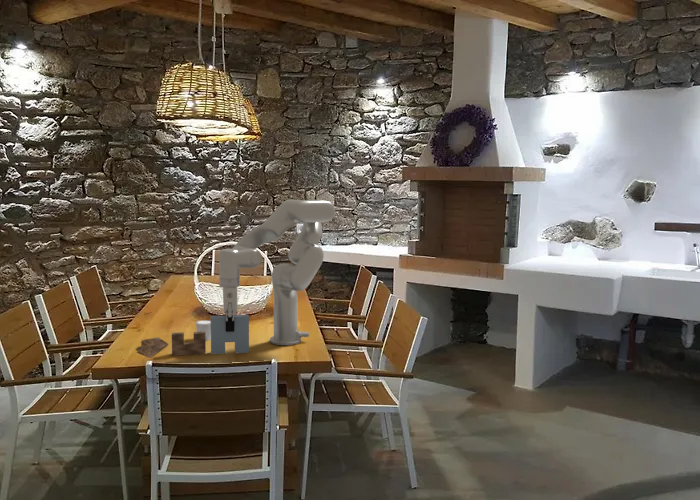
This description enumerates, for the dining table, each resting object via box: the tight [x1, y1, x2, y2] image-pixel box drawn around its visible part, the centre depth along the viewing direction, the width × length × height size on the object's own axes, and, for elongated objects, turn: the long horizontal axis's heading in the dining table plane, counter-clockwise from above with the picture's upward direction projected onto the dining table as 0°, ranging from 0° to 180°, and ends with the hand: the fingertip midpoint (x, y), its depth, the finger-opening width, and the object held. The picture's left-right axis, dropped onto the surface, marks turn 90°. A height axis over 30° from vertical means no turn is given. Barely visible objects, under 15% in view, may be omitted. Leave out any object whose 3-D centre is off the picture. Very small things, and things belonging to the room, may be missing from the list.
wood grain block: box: [171, 331, 207, 356], centre depth 228 cm, size 12×2×8 cm, turn 101°
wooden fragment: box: [136, 336, 169, 358], centre depth 236 cm, size 26×11×1 cm, turn 9°
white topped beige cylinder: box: [195, 319, 211, 341], centre depth 248 cm, size 7×7×7 cm
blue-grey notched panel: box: [210, 314, 250, 355], centre depth 231 cm, size 14×2×14 cm, turn 101°
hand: (229, 330), depth 230 cm, fingers closed on blue-grey notched panel, 2 cm apart
